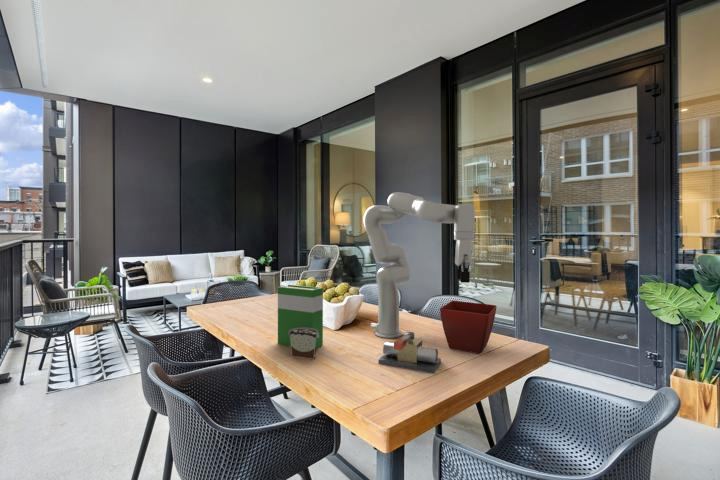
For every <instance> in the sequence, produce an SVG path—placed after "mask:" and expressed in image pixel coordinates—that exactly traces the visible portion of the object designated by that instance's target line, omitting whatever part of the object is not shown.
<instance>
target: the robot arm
mask: <svg viewBox="0 0 720 480" xmlns="http://www.w3.org/2000/svg"><path fill="white" fill-rule="evenodd" d="M407 215H410V216H414V217H416V218H418V219H421V220H425V221H427V222H433V223H436V224H453V240H454V241H455V242H456V243H455V252H454V253H455V254H454V255H455V256H454V264H455V265H456V266H457V269H456V272H457V273H456V274H457V275H456V278H457V279H458V280H460V283H462V284H463V283H466V284H469V283H470V281H471V280H470V279H471V269H470V267H471V265H472V241H475V225H476V224H475V223H476V222H475V221H476V208H475V206H474V204H472V203H471V204H470V203H460V204H457V205H456V204H449V203H447V204H445V203H438V202H433V201H429V200H425V199H424V198H423V197H422V196H418V195H414V194H411V193H408V192H402V191H399V192H398V191H396V192H392V193H390V195H389V196H388V198H387V205H381V204H379V205H378V204H377V205H375V204H374V205H372V206H369V207H368V208H367V209H366V210H365V212H364V215H363V226H364V230H365V231H366V234H367V236H368V241H369V243H370V244H369V245H370V248H371V251H372V254H373V255H372V256H373V257H374V261H375V262H376V263H377V264H381V265H382V264H383V265H385V266H381V268H379V269H378V271H377V272H376V275H375V276H376V284H377V292H378V293H377V294H378V297H377V298H378V299H377V300H378V305H377V306H378V307H377V308H378V309H377V310H378V311H377V312H378V316H377V317H378V318H377V320H378V321H377V323H374V322H371V323H370V329H375V330H374V335H375V336H377V337H379V338H384V339H394V338H395V339H396V338H400V337H401V336H402V335H403V331H402V330H400V293H399V291H398V288H397V286H402V285H406V284H407V283H408V282H409V280H410V277H411V273H410V272H411V271H410V267H409V265H408V261H407V258H406V255H405V252H404V250H403V249H404V248H402V246H401V245H400V244H398V243H395V242H394V243H393V242H390V241H389V239H388V235H387V232H386V231H385V229H384V227H382V224H384V225H385V224H387V225H392V224H395V223H397V222H399V221H400V220H402V219H403V218H405V217H407ZM386 264H387V265H386ZM388 264H389V265H388ZM402 337H403V336H402Z"/></svg>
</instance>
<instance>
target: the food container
mask: <svg viewBox="0 0 720 480" xmlns="http://www.w3.org/2000/svg"><path fill="white" fill-rule="evenodd" d="M288 335H290V344H291V346H290V352H291V354H290V355H291V357H293V358H299V357H300V358H302V359H308V360H315V359H316V356H317V355H316V354H317V348H316V346H317V339H318V338H319V333H318V330H316V329H314V328H307V327H302V328H294V329H291V330H289V333H288Z"/></svg>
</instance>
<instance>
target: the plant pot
mask: <svg viewBox="0 0 720 480" xmlns="http://www.w3.org/2000/svg"><path fill="white" fill-rule="evenodd" d="M439 312H440V318H441V319H440V320H441V325H442V329H443V332H444V337H445V340H446V342H447V345H448V348H449V350H457V351H462V352H467V353H468V352H469V353H474V354H482V353H483V352H484V350H485V349H486V346H488V343H489V341H490V337H491V334H492V330H493V328H494V323H495V319H496V314H497V313H496V312H497V305H495V304H488V303H487V304H486V303H479V302H471V301H470V302H468V301H461V300H450V301H449V302H447V304H445V305H443V306H441V307H440V308H439Z"/></svg>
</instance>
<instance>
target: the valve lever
mask: <svg viewBox="0 0 720 480" xmlns="http://www.w3.org/2000/svg"><path fill="white" fill-rule="evenodd" d="M413 339H415V332H413V331H406V332H405V335H403V336H402V337H401V338H398V339H396V340H395V341H394V349H396V350H402V349H403V348H404V347H405V346H406V344H407V343H408V342H409V341H410V340H413Z"/></svg>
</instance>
